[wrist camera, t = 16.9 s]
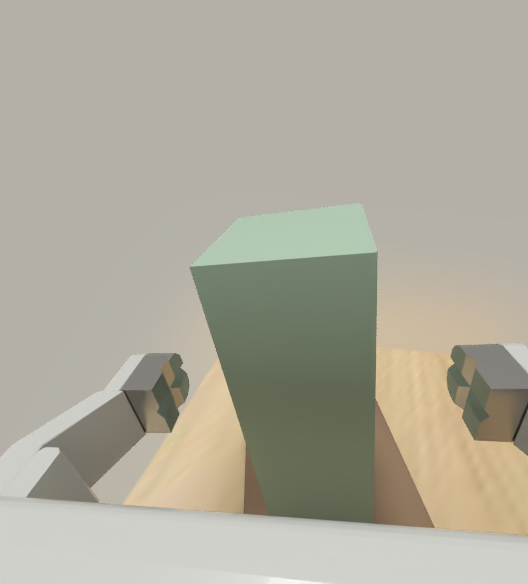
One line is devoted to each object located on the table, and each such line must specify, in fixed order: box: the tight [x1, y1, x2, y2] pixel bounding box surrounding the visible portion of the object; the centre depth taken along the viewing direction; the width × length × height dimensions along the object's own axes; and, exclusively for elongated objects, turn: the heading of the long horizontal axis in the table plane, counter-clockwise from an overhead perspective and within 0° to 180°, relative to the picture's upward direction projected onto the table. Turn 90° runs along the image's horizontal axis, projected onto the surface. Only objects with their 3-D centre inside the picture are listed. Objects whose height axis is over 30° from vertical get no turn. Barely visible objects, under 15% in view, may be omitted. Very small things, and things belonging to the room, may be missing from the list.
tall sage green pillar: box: [190, 203, 377, 524], centre depth 13 cm, size 5×5×14 cm
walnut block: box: [244, 399, 434, 528], centre depth 17 cm, size 9×11×4 cm
